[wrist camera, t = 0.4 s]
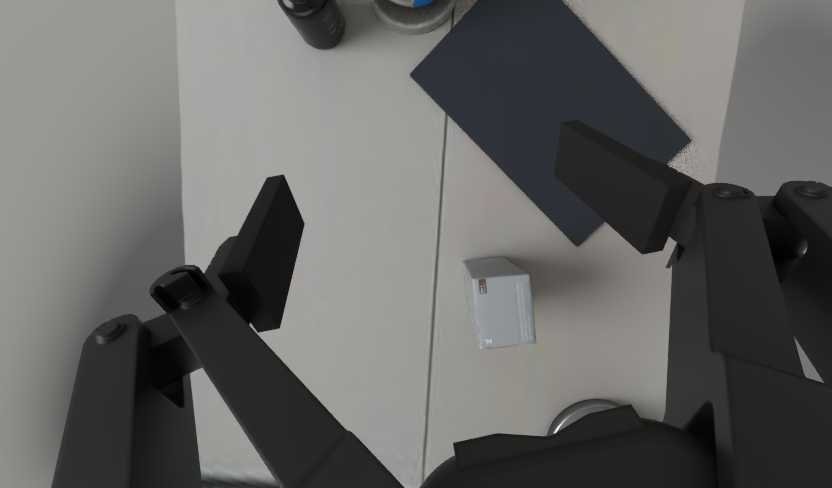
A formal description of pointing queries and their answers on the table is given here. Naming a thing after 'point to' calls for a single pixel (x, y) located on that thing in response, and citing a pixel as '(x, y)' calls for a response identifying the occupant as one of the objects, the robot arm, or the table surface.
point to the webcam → (413, 14)
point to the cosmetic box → (499, 302)
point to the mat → (540, 97)
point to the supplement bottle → (316, 21)
